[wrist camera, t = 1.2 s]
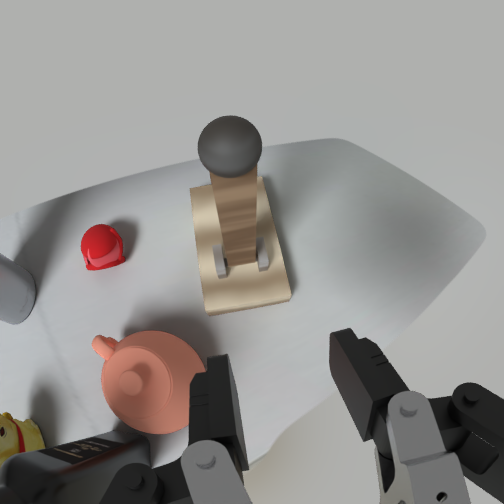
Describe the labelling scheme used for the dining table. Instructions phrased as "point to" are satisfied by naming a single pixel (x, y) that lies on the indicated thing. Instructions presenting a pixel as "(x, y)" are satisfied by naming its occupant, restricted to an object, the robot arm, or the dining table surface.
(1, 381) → the dining table surface
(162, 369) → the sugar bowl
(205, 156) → the lever
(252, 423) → the dining table surface
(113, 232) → the red helmet
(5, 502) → the wine bottle
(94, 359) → the dining table surface
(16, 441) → the chocolate bunny
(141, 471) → the robot arm
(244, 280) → the nutcracker base
